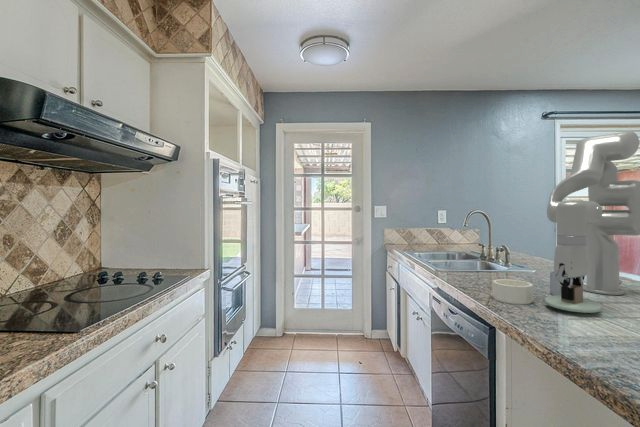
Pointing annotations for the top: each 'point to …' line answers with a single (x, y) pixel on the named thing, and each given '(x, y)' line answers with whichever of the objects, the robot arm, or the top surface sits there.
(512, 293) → the bowl
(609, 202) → the robot arm
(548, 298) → the lid
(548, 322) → the top surface
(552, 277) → the medicine box
